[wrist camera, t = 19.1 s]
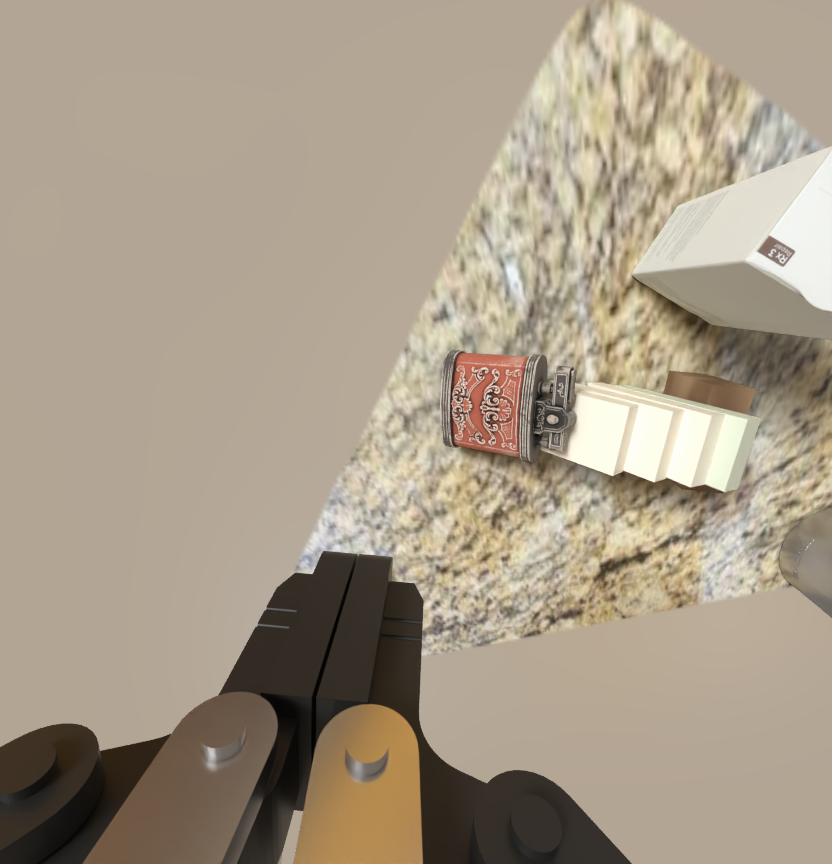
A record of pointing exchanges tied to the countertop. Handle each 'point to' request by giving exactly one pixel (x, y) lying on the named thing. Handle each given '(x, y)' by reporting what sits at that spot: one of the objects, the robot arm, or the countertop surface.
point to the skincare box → (753, 252)
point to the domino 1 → (598, 432)
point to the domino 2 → (648, 435)
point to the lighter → (505, 404)
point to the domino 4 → (723, 442)
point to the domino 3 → (685, 437)
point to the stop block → (709, 399)
